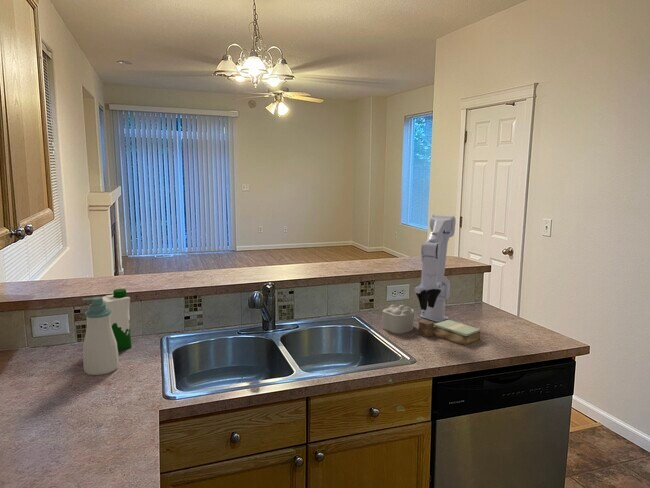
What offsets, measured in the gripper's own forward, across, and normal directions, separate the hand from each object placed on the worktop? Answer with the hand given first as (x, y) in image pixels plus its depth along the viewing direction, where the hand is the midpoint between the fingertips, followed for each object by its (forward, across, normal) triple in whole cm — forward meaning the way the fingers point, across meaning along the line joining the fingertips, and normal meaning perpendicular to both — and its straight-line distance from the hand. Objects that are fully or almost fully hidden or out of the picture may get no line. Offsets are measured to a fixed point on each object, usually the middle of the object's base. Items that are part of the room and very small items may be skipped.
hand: (427, 308), depth 176 cm
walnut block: (+10, 0, 0) cm, 10 cm away
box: (+10, +7, -9) cm, 15 cm away
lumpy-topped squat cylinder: (+11, -2, +11) cm, 16 cm away
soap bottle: (+11, -105, +44) cm, 114 cm away
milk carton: (+11, -96, +59) cm, 113 cm away
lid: (+7, +7, -9) cm, 13 cm away
